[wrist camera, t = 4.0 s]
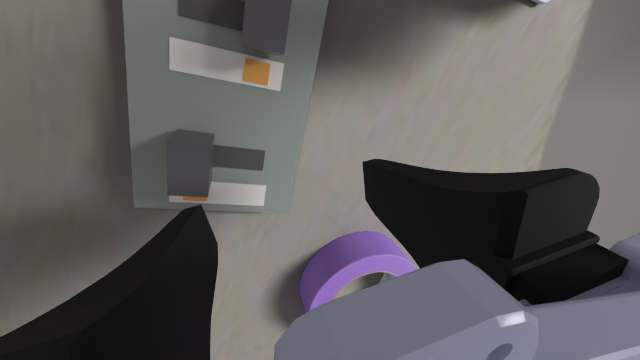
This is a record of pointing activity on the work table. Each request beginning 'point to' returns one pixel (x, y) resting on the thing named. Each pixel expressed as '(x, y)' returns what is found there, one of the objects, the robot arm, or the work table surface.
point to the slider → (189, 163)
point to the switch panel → (218, 99)
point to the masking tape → (350, 265)
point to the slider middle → (266, 25)
